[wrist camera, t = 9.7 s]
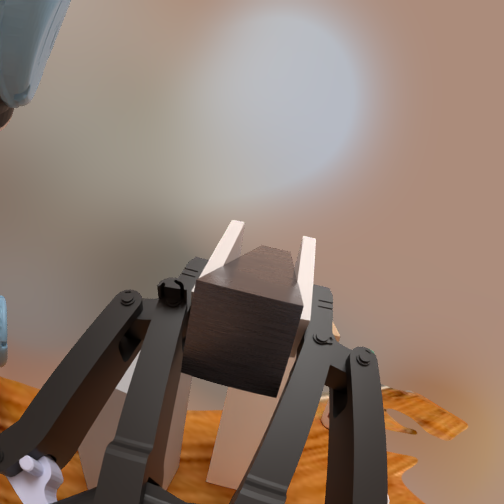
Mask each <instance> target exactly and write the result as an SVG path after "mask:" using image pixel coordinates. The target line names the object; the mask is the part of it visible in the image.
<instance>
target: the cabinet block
mask: <svg viewBox="0 0 504 504" xmlns="http://www.w3.org/2000/svg"><path fill="white" fill-rule="evenodd" d="M332 332H333V335H334V337H335V339H336V341H337V342H339V339H340V335H339V333H338V331H337V329H336V327H335V325H334V323H333V322H332ZM295 360H296V355H295V358H292V357H289V359H288V363H287V366H286V369H285V372H284V376H283V379H282V382H281V385H280V388H279V391H278V394H277V397H276V398H274V397H269V396H264V395H260V394H256V393H251V392H247V391H243V390H239V389H235V388H232V387H228V391H227V395H226V399H225V403H224V408H223V412H222V416H221V420H220V425H219V429H218V433H217V437H216V441H215V446H214V450H213V454H212V458H211V462H210V466H209V471H208V475H207V479H206V482H209V483H212V484H216V485H220V486H223V487H227V488H232V489H236V490H237V488H238V487H239V485H240V483H241V481H242V479H243V477H244V475H245V473H246V471H247V469H248V467H249V465H250V463H251V461H252V459H253V457H254V455H255V453H256V450H257V448H258V446H259V444H260V442H261V440H262V438H263V435H264V433H265V431H266V429H267V427H268V424H269V422H270V420H271V417H272V415H273V413H274V411H275V408H276V406H277V404H278V401H279V399H280V396H281V394H282V392H283V389H284V387H285V384H286V382H287V379H288V377H289V373H290V371H291V369H292V367H293V364H294V362H295Z"/></svg>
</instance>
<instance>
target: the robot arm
mask: <svg viewBox="0 0 504 504" xmlns="http://www.w3.org/2000/svg"><path fill="white" fill-rule="evenodd" d="M70 2H71V0H0V131H1V130H2V129H3V128H4V127H6V126H7V124H8V123H9V121H10V119H11V117H12V114H13V110H14V108H18V107H19V106H25V105H27V104H28V103H29V102H30V101H31V100H32V98H33V96H34V94H35V92H36V89H37V87H38V85H39V82H40V80H41V77H42V74H43V70H44V68H45V65H46V62H47V59H48V58H49V56H50V53H51V50H52V48H53V45H54V42H55V40H56V37H57V35H58V32H59V30H60V27H61V24H62V22H63V19H64V17H65V14H66V11H67V9H68V7H69V4H70ZM244 224H245V222H241V221H236V220H232V221H231V223H230V225H229V226H228V228H227V230H226V232H225V233H224V235H223V237H222V238H221V240H220V242H219V244H218V245H217V247H216V249H215V250H214V252H213V254H212V256H211V258H210V259H209V260H206V259H202V258H198V257H195V258H194V259H192V260H191V261H189V262H188V264H187V265H186V267H185V269H184V270H183V271H182V274H181V275H180V276H179V278H167V279H164V280H162V281H161V282H160V283H159V284H158V285H157V286H158V296H159V298H157V299H143V298H142V296H141V295H140V293H138V292H137V291H134V290H124V291H122V292H120V293H119V294H117V295H116V296H115V297H114V299H113V300H112V301H111V302H110V304H108V306H107V307H106V308H105V309H104V310H103V311H102V313H101V314H100V315H99V316H98V317H97V318H96V320H95V321H94V322H93V323H92V324H91V326H90V327H89V328H88V329H87V330H86V332H85V333H84V334H83V335H82V336H81V338H80V339H79V340H78V342H77V343H76V344H75V345H74V347H73V348H72V349H71V350H70V352H69V353H68V354H67V355H66V356H65V358H64V359H63V360H62V362H61V363H60V364H59V366H58V367H57V368H56V369H55V371H54V372H53V373H52V375H51V376H50V377H49V379H48V380H47V382H46V383H45V384H44V386H43V387H42V388H41V390H40V391H39V392H38V394H37V395H36V397H35V398H34V399H33V401H32V402H31V404H30V405H29V406H28V408H27V409H26V411H25V412H24V414H23V415H22V417H21V418H20V420H19V421H17V422H16V423H15V424H13V425H12V426H10V427H9V428H7V429H6V430H5V431H3V432H2V433H0V473H1V474H3V475H5V476H6V477H7V478H8V480H9V482H10V483H11V485H12V487H13V488H14V490H15V491H16V493H17V495H18V496H19V498H20V499H21V501H22V502H23V504H194V503H186V502H184V501H182V500H180V499H179V498H177V497H175V496H174V495H172V494H171V493H169V492H167V491H166V490H164V489H163V488H162V486H163V479H164V460H165V454H166V448H167V442H168V437H169V431H170V426H171V421H172V415H173V410H174V405H175V400H176V395H177V390H178V385H179V381H180V376H181V365H182V359H183V352H184V346H185V340H186V334H187V328H188V322H189V316H190V310H191V305H192V299H193V294H194V288H195V283H196V279H198V278H200V277H202V276H204V275H206V274H208V273H210V272H212V271H214V270H216V269H217V268H219V267H221V266H223V265H225V264H227V263H229V262H231V261H233V260H235V259H237V258H239V257H240V253H241V246H242V239H243V231H244ZM315 244H316V239H315V238H311V237H306V236H303V239H302V243H301V246H300V250H299V253H298V257H297V261H296V264H295V268H294V271H295V275H296V279H297V282H298V284H299V288H300V292H301V296H302V301H303V305H304V307H303V311H302V314H301V318H300V322H299V325H298V329H297V332H296V336H295V339H294V343H293V346H292V349H291V353H290V356H289V357H292V358H295V355H296V360H295V362H294V364H293V367H292V369H291V371H290V373H289V377H288V379H287V382H286V384H285V387H284V389H283V392H282V394H281V396H280V399H279V401H278V404H277V406H276V408H275V411H274V413H273V415H272V417H271V420H270V422H269V424H268V427H267V429H266V431H265V433H264V435H263V438H262V440H261V442H260V444H259V446H258V448H257V450H256V453H255V455H254V457H253V459H252V461H251V463H250V465H249V467H248V469H247V471H246V473H245V475H244V477H243V479H242V481H241V483H240V485H239V487H238V488H237V490H236V492H235V494H234V495H233V497H232V499H231V501H230V503H229V504H285V501H286V492H287V489H288V486H289V484H290V482H291V479H292V477H293V474H294V472H295V469H296V467H297V464H298V461H299V459H300V456H301V454H302V451H303V448H304V445H305V443H306V440H307V437H308V434H309V431H310V428H311V425H312V422H313V419H314V416H315V413H316V410H317V407H318V404H319V401H320V397H321V394H322V391H323V387H324V385H326V386H328V387H329V445H328V467H327V482H326V496H325V504H387V493H388V487H387V451H386V435H385V422H384V411H383V401H382V392H381V384H380V376H379V369H378V363H377V358H376V355H375V354H374V353H373V352H372V351H371V350H370V349H368V348H365V347H356V348H354V349H353V350H350V349H348V348H346V347H344V346H343V345H341V344H339V343H338V342H337V341H336V339H335V337H334V335H333V332H332V322H333V319H332V318H333V310H332V309H333V305H332V303H333V295H332V293H331V291H330V289H329V288H327V287H323V286H318V285H314V284H313V279H314V263H315ZM140 350H141V351H140ZM139 351H140V354H139V357H138V360H137V363H136V366H135V369H134V372H133V375H132V378H131V382H130V385H129V388H128V392H127V395H126V398H125V402H124V405H123V409H122V412H121V416H120V419H119V423H118V427H117V430H116V434H115V437H114V439H113V441H111V442H110V443H109V444H108V445H107V447H106V450H105V453H104V457H103V461H102V466H101V470H100V474H99V479H98V483H97V487H94V488H92V489H89V490H87V491H84V492H82V493H79V494H76V495H74V496H71V497H68V498H65V499H63V500H60V501H57V498H56V492H57V489H58V488H59V486H60V485H61V484H62V483H63V476H62V472H61V469H62V468H63V467H65V465H66V464H67V463H68V462H69V461H70V460H71V459H72V457H73V456H74V454H75V453H76V451H77V450H78V448H79V446H80V445H81V443H82V441H83V440H84V438H85V436H86V435H87V433H88V431H89V430H90V428H91V426H92V425H93V423H94V422H95V420H96V418H97V417H98V415H99V413H100V412H101V410H102V409H103V407H104V406H105V404H106V402H107V401H108V399H109V398H110V396H111V394H112V393H113V391H114V390H115V388H116V387H117V385H118V384H119V382H120V380H121V379H122V377H123V376H124V374H125V373H126V371H127V370H128V368H129V367H130V365H131V364H132V362H133V361H134V359H135V358H136V356H137V354H138V353H139ZM6 362H7V308H6V300H5V298H4V297H3V296H1V295H0V367H3V366H4V365H5V364H6Z"/></svg>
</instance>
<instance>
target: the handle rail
mask: <svg viewBox="0 0 504 504" xmlns="http://www.w3.org/2000/svg"><path fill="white" fill-rule="evenodd" d="M303 307H304V305H303V301H302V296H301V292H300V288H299V284H298V282H297V279H296V275H295V271H294V264H293V261H292V257H291V253H290V252H288V251H284V250H279V249H275V248H271V247H267V246H260V247H258V248H256V249H254V250H252V251H250V252H248V253H246V254H244V255H242V256H240V257H239V258H237V259H235V260H233V261H231V262H229V263H227V264H225V265H223V266H221V267H219V268H217V269H216V270H214V271H212V272H210V273H208V274H206V275H204V276H202V277H200V278H198V279H196V283H195V288H194V294H193V299H192V305H191V310H190V316H189V322H188V328H187V334H186V340H185V346H184V352H183V359H182V365H181V373H184V374H187V375H190V376H194V377H197V378H200V379H204V380H207V381H210V382H213V383H217V384H221V385H225V386H228V387H232V388H235V389H239V390H243V391H247V392H251V393H256V394H260V395H264V396H269V397H274V398H276V397H277V394H278V391H279V388H280V385H281V382H282V379H283V376H284V372H285V369H286V366H287V363H288V359H289V356H290V353H291V349H292V346H293V343H294V339H295V336H296V332H297V329H298V325H299V322H300V318H301V314H302V311H303Z"/></svg>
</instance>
